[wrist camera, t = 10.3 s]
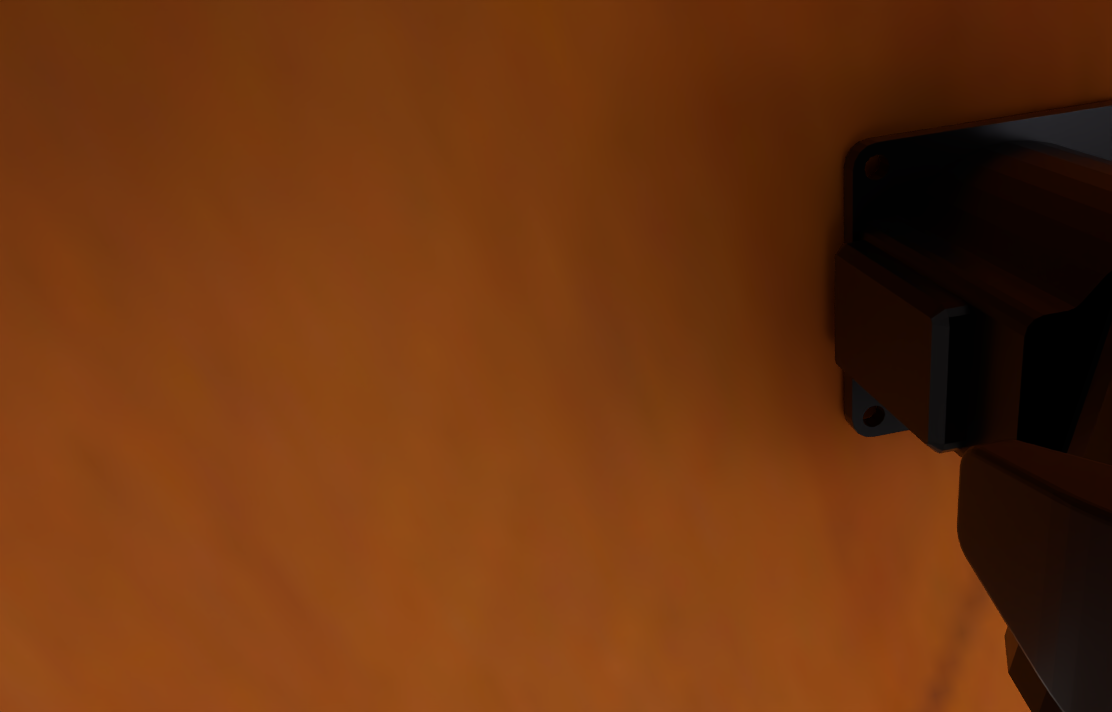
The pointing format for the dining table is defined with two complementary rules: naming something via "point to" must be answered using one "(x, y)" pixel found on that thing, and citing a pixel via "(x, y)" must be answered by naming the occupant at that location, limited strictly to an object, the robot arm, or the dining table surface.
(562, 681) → the dining table surface
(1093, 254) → the robot arm
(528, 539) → the dining table surface
